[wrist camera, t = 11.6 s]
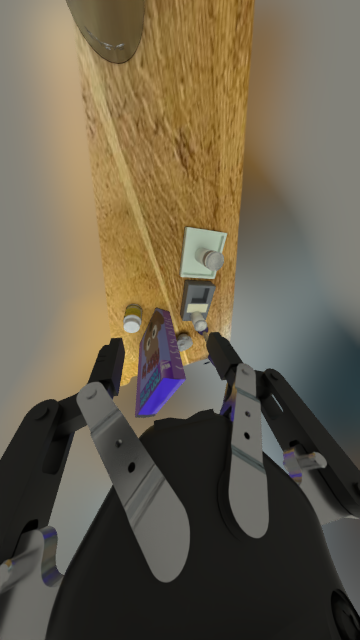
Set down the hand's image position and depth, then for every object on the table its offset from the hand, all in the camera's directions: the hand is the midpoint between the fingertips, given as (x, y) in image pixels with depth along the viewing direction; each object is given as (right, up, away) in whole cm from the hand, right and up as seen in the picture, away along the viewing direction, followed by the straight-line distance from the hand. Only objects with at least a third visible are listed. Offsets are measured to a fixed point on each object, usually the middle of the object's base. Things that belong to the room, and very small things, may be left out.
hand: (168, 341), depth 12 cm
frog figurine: (+2, -4, +40) cm, 40 cm away
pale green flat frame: (+6, +19, +22) cm, 30 cm away
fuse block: (+6, +9, +30) cm, 32 cm away
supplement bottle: (-13, +5, +29) cm, 32 cm away
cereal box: (-9, -1, +35) cm, 36 cm away
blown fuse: (+7, +19, +22) cm, 30 cm away
